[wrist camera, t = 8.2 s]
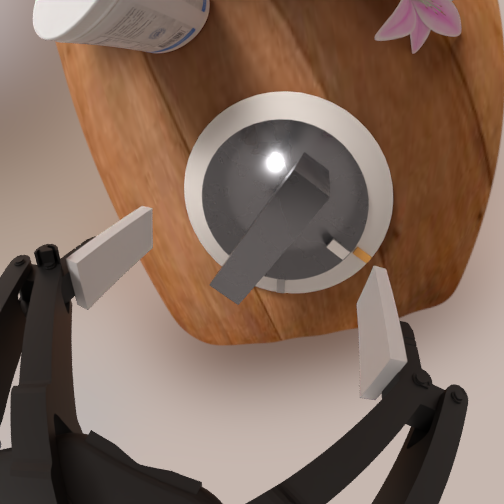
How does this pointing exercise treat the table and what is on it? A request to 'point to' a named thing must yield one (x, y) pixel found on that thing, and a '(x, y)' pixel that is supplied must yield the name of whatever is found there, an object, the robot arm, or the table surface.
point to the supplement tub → (121, 22)
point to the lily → (421, 21)
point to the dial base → (333, 123)
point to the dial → (282, 204)
